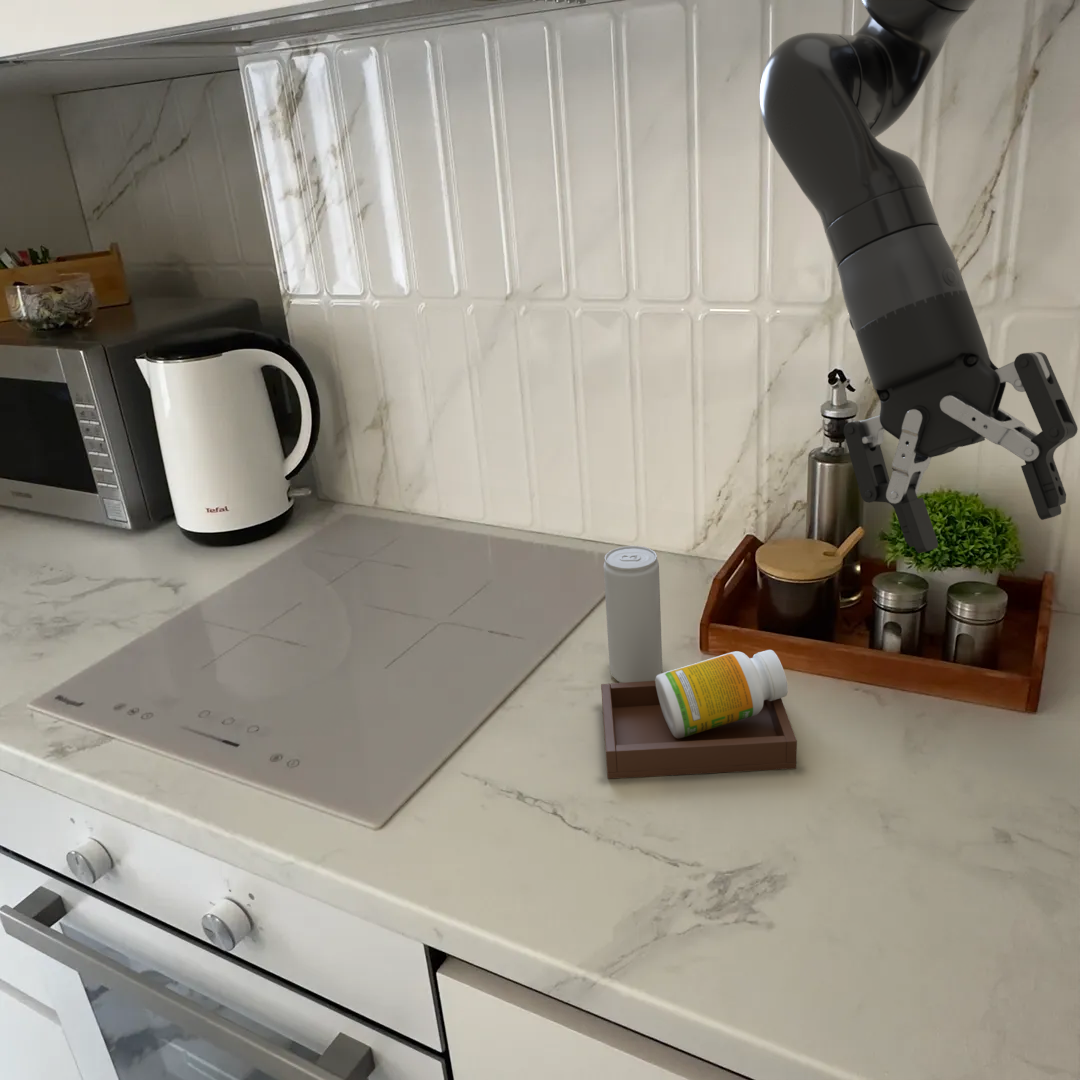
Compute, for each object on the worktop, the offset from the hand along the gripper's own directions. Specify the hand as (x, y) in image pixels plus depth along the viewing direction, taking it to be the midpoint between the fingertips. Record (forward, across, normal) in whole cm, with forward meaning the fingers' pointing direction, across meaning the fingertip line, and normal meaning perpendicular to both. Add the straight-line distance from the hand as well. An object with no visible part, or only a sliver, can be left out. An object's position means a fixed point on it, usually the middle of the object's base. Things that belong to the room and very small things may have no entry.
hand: (986, 534), depth 66 cm
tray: (+10, +26, +5) cm, 28 cm away
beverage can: (+4, +34, +1) cm, 34 cm away
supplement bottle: (+6, +26, +8) cm, 28 cm away
